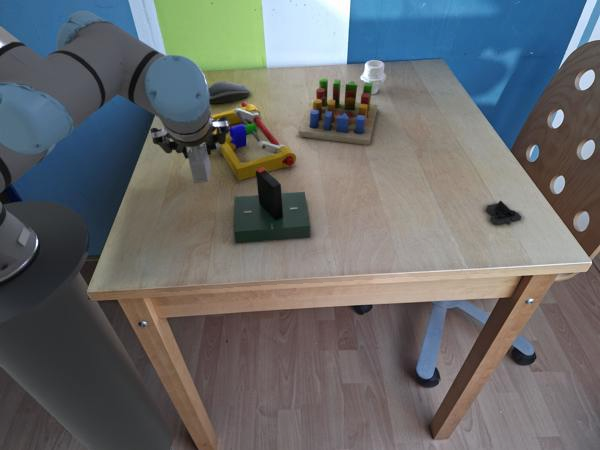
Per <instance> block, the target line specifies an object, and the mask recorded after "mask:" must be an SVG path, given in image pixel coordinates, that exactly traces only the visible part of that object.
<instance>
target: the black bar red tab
mask: <svg viewBox="0 0 600 450" xmlns="http://www.w3.org/2000/svg"><path fill="white" fill-rule="evenodd" d="M255 177H256V178H255V179H256V186H257V195H258V197H259V204H260V205H261V206H262V207H263V208H264V209H265V210H266V211H267V212H268V213H269V214H270V215H271V216H272V217H273V218H274V219H275V220H278V219H280V218H282V217H283V211H282V194H281V193H282V184H281V182H279V181H278V179H276V178H275V177H274V176H273V175H272V174H271V173H270V172H267V171H266V170H265V169H264V168H263V167H262V168H259V169H257V170H256V176H255Z"/></svg>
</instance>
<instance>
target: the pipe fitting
mask: <svg viewBox="0 0 600 450" xmlns="http://www.w3.org/2000/svg"><path fill="white" fill-rule="evenodd" d="M386 79H387V74H386V73H385V63H384V62H383V61H381V60H377V59H370V60H367V61H366V62H365V63H364V71H363V73H362V74H361V75H360V80H361V81H363V82H364V83H365V82H367V83H373V85H372V92H371V95H375V94H377V93H378V91H379V84H383V83H384V82H385V80H386Z"/></svg>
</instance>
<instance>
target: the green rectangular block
mask: <svg viewBox="0 0 600 450" xmlns="http://www.w3.org/2000/svg"><path fill="white" fill-rule="evenodd" d="M281 194H282V211H283V217H282V218H280V219H278V220H275V219H274V218H273V217H272V216H271V215H270V214H269V213H268V212H267V211H266V210H265V209H264V208H263V207H262V206H261V205H260V204H259V197H258V194H252V195H238V196H234V205H233V211H234V213H233V237H234V241H235V244H241V243H242V244H243V243H254V242H265V241H266V242H267V241H268V242H269V241H279V240H280V241H281V240H292V239H305V238H311V222H310V216H309V209H308V203H307V197H306V191H294V192H281Z"/></svg>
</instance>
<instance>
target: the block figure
mask: <svg viewBox="0 0 600 450" xmlns="http://www.w3.org/2000/svg"><path fill="white" fill-rule="evenodd" d="M485 211H486V212H487V214H488V216H490V219H489V221H490V222H491V223H492V224H493V225H496V226H500V225H505V224H507V225H508V226H509V225H510V224H511V223H514V222H518V221H521V219H522V215H521V214H520V213H519V212H518V211H515V210H512V209H510V208H509V207H508V206H507V205H506V204H505V202H503V201H502V200H499V201H498V202H497V203H492V204H488V205H487V206H486V209H485Z"/></svg>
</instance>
